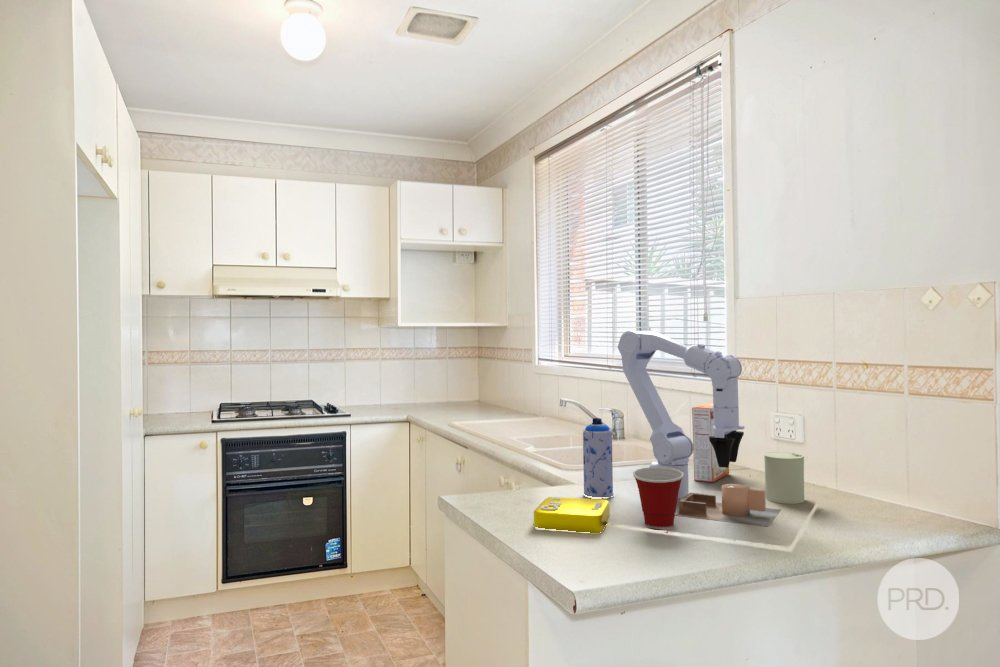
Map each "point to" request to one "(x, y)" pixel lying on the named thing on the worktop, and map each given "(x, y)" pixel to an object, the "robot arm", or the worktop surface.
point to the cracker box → (705, 445)
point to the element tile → (572, 514)
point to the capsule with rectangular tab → (742, 500)
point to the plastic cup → (658, 494)
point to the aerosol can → (597, 460)
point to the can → (784, 477)
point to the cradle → (720, 511)
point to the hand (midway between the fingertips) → (727, 464)
